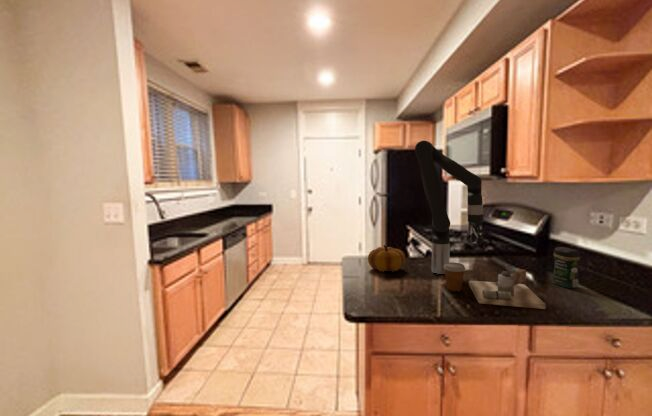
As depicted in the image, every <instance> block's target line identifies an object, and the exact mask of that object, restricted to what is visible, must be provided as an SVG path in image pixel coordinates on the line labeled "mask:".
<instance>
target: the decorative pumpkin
mask: <svg viewBox="0 0 652 416" xmlns="http://www.w3.org/2000/svg"><path fill="white" fill-rule="evenodd" d="M405 260H406V256H405V253H404V252H403V251H402V250H401V249H399V248H394V247H391V246H388V247H387V246H386V244H384V245H383V246H378V247H377V248H376V249H372V250H371V251H369V253H368V255H367V263H368V264H369V266H370V267H371V268H372V269H373V268H374V270H376V269H377V270H376V271H379V272H381V271H392V272H391V273H395V272H394V271H396V272H397V271H398V270H400V269H401V268H402V267H403V266H404V264H405V262H406V261H405Z"/></svg>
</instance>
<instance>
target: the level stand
mask: <svg viewBox="0 0 652 416" xmlns="http://www.w3.org/2000/svg"><path fill="white" fill-rule="evenodd" d="M468 286H469V287H470V289H471V291H472V292H473V295H474V297H475V299H476V300H477V302H478V304H484V305H496V306H504V307H505V306H506V307H507V306H508V307H515V308H516V307H519V308H529V309H540V310H546V307H547V305H546V303H545V302H544V301H543V300H542V299H541V298H540V297H538V295H536V293H534V291H532V290H531V289H530V288H529V287H528V286H527V285H526V284H525V283H519V284H517V285H515V286H514V295H513V296H511V293H510V292H500V291H498V281H496V282H495V281H483V280H480V281H479V280H468Z"/></svg>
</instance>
